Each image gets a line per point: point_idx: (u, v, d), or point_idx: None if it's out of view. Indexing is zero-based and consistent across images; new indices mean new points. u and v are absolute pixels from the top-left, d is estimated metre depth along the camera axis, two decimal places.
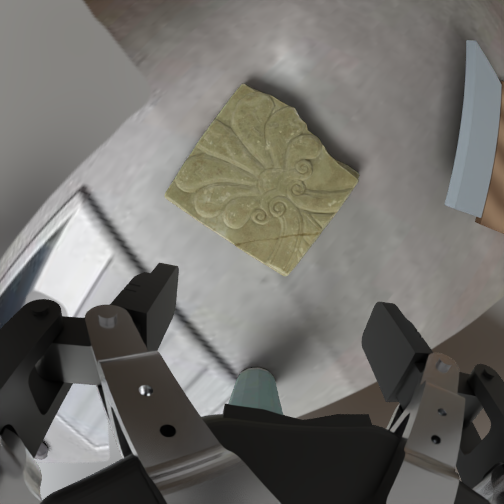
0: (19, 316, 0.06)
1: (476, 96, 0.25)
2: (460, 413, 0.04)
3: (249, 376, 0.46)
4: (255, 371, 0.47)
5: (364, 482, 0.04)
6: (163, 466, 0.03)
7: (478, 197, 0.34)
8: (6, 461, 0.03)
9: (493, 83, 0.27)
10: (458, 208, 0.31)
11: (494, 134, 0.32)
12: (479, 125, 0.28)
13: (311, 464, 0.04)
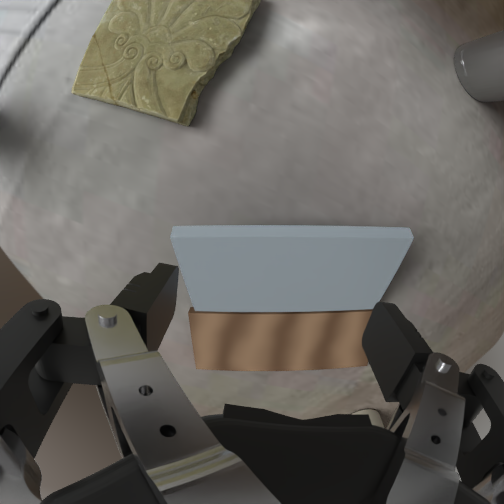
0: (19, 316, 0.06)
1: (334, 245, 0.28)
2: (460, 413, 0.04)
3: None
4: None
5: (364, 482, 0.04)
6: (163, 466, 0.03)
7: (211, 292, 0.35)
8: (6, 461, 0.03)
9: (369, 287, 0.34)
10: (175, 248, 0.29)
11: (303, 303, 0.36)
12: (297, 260, 0.30)
13: (311, 464, 0.04)
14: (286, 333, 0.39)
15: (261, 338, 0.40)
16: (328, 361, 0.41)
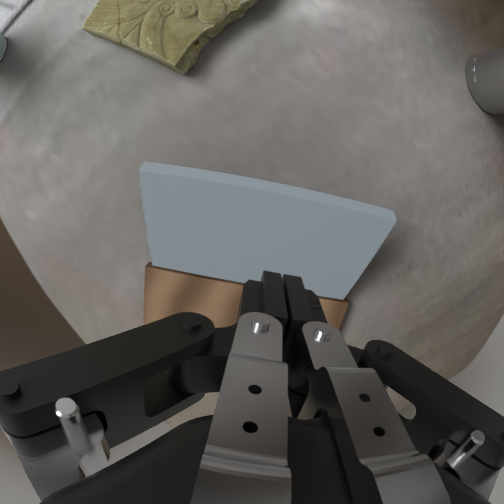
0: (166, 322, 0.07)
1: (309, 210, 0.26)
2: (381, 389, 0.05)
3: None
4: (2, 44, 0.24)
5: None
6: (222, 450, 0.04)
7: (171, 244, 0.32)
8: (74, 438, 0.04)
9: (340, 271, 0.32)
10: (142, 184, 0.26)
11: None
12: (267, 220, 0.28)
13: (311, 464, 0.04)
14: None
15: (216, 309, 0.37)
16: None
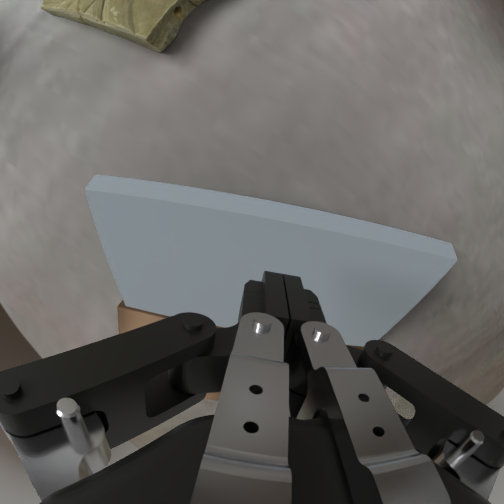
0: (167, 322, 0.07)
1: (340, 247, 0.17)
2: (380, 389, 0.05)
3: None
4: None
5: None
6: (223, 450, 0.04)
7: (144, 285, 0.23)
8: (75, 439, 0.04)
9: (372, 320, 0.23)
10: (92, 208, 0.17)
11: None
12: (276, 261, 0.19)
13: (311, 464, 0.04)
14: None
15: None
16: None
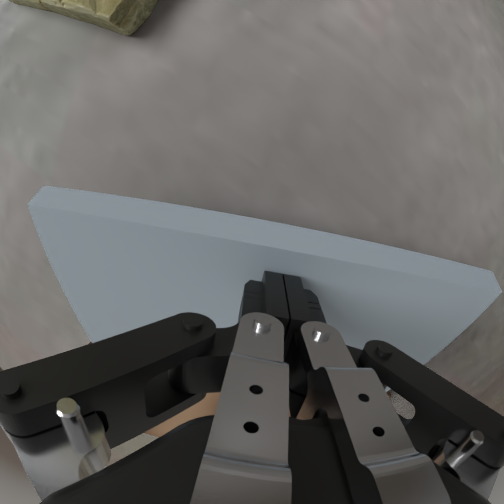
0: (167, 322, 0.07)
1: (365, 285, 0.12)
2: (380, 389, 0.05)
3: None
4: None
5: None
6: (223, 450, 0.04)
7: (111, 327, 0.17)
8: (76, 438, 0.04)
9: None
10: (38, 229, 0.12)
11: None
12: None
13: (311, 464, 0.04)
14: None
15: (195, 409, 0.22)
16: None
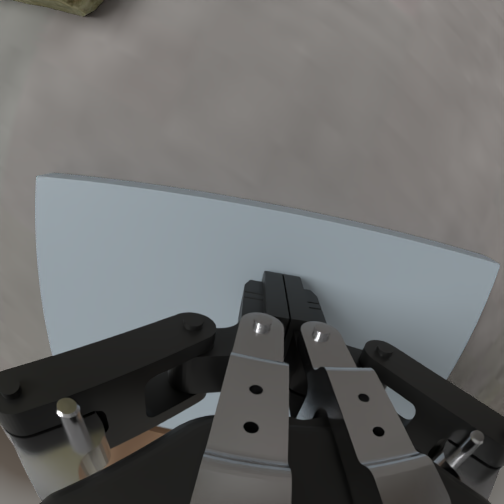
0: (167, 322, 0.07)
1: (370, 257, 0.12)
2: (380, 389, 0.05)
3: None
4: None
5: None
6: (223, 450, 0.04)
7: None
8: (75, 438, 0.04)
9: None
10: (37, 208, 0.11)
11: None
12: None
13: (311, 464, 0.04)
14: None
15: None
16: None
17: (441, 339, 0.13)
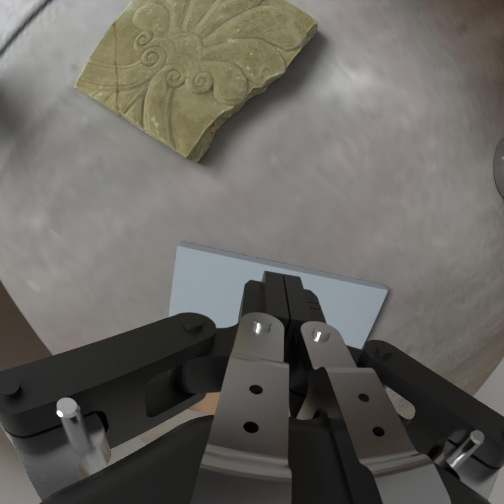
0: (167, 322, 0.07)
1: (319, 286, 0.32)
2: (380, 389, 0.05)
3: None
4: None
5: None
6: (223, 450, 0.04)
7: None
8: (75, 439, 0.04)
9: None
10: (177, 259, 0.31)
11: None
12: None
13: (311, 464, 0.04)
14: None
15: None
16: None
17: (356, 322, 0.33)
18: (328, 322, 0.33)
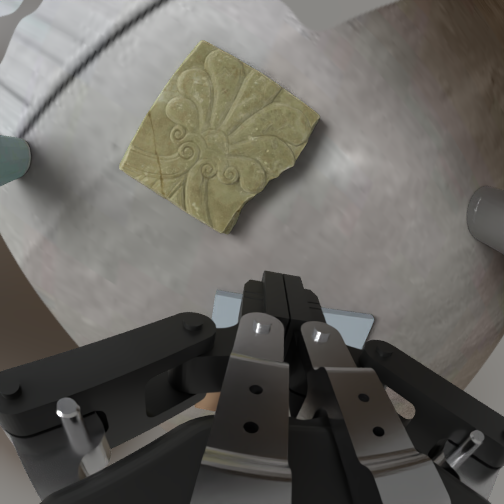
0: (167, 322, 0.07)
1: None
2: (380, 389, 0.05)
3: (21, 150, 0.33)
4: (27, 154, 0.34)
5: None
6: (223, 450, 0.04)
7: None
8: (76, 438, 0.04)
9: None
10: (215, 304, 0.42)
11: None
12: None
13: (311, 464, 0.04)
14: None
15: None
16: None
17: (350, 343, 0.44)
18: None
